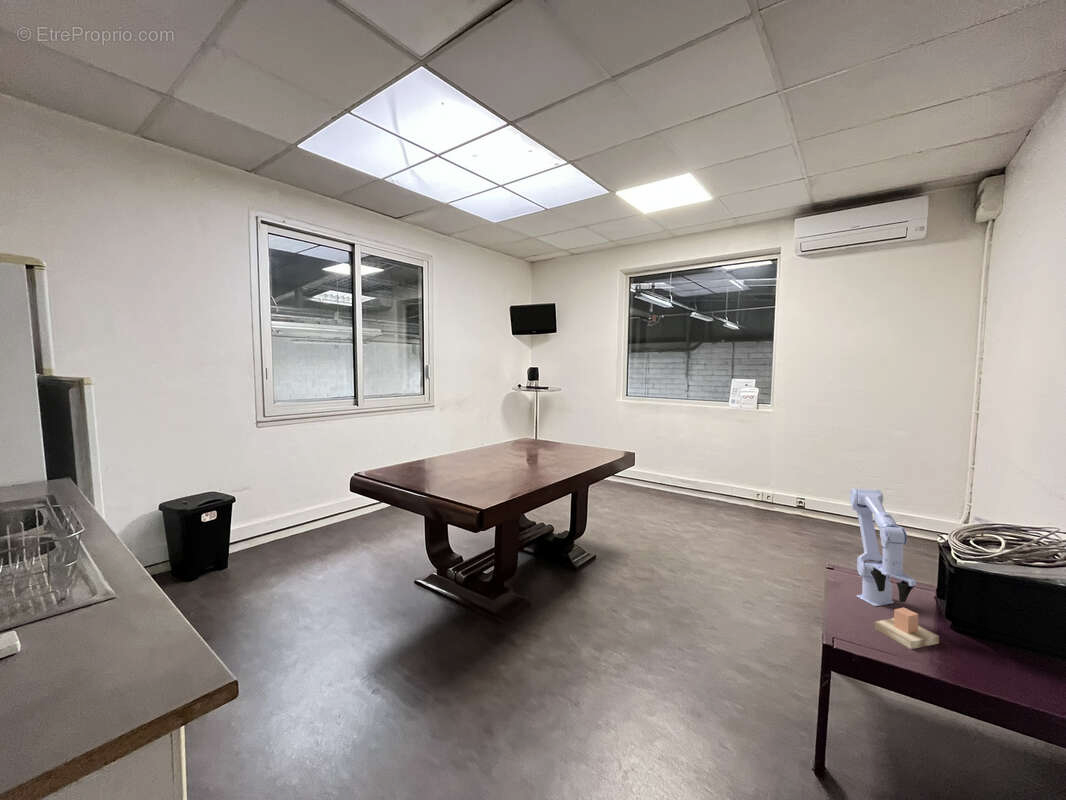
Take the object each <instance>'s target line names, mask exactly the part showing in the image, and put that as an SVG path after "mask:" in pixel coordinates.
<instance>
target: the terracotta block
mask: <svg viewBox="0 0 1066 800" xmlns="http://www.w3.org/2000/svg"><path fill="white" fill-rule="evenodd" d="M893 613H894V615H893V618H894V626H895V627H896V628H898V629H900V630H902V631H904V632H906V633H912V632H916V631H918V625H919V613H917V612H915V611H912V610H910V609H908V608H906V607H900V608H895V609H894V610H893Z"/></svg>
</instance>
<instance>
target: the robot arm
mask: <svg viewBox="0 0 1066 800" xmlns="http://www.w3.org/2000/svg"><path fill="white" fill-rule="evenodd" d="M849 492H850V493H849V498H850V499H849V500H850V504H851V505H850V506H851V508H852V510H853V511H855V512H856V513H857V517H858V522H859V523H858V524H859V529H860V535H861V540H862V541H861V542H862V546H863V553H862V554H860V555H859V556H857V558H856V561H857V563H856V569H857V573H858V575H859V576H860V577H862V580H861V581H862V582H861V583H862V584H861V586H862V588H861V589H862V590H861V594H856V597H857V598H859V599H860V600H863V601H864V602H866V603H868V604H870V605H871V606H874V607H879V606H884V605H889V604H894V603H895V601H894V600H893V585H892V583H891V580H890V579H891V578H894V579H895V580H898V581H899V582H896V585H897V589H898V601H899V602H900V603H905V602H907V599H908V596H909V594H910V593H911V592H912V590H913V589H914V588H915V587H916V586H917V580H916V579H914V578H912V577H911V576H909V575H908V574H906V573H904V572H903V571H904V570H903V569H904V566H903V565H904V545H906V544H907V542H908V534H907V532H906V529H905V528H904V527H902V526H901V525H898V524H897V522H896V521H895V519H894V516H892V514H891V513H889V512H887V511H886V510H885V508H884V505H883V503H884V495H883V492H882V491H881V490H880V489H865V488H854V487H853V488H851V490H850V491H849ZM873 515H874V516H873ZM875 525H876V526H877V528H878V529H879V537H880V545H881V546H882V554H881V553H880V550H879V544H878V539H877V534H876V533H877V532H876V529H875Z"/></svg>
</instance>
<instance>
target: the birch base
mask: <svg viewBox="0 0 1066 800" xmlns="http://www.w3.org/2000/svg"><path fill="white" fill-rule="evenodd" d="M874 629H875V630H876V631H878V632H880V633H882V634H883V635H885V636H887V637H888V638H891V639H892V640H894V641H895V642H897V643H899V644H901V645H903V646H904V647H906V648H908V649H909V650H914V649H919V648H924V647H929V646H932V645H938V644H940V636H939V635H938V634H936V633H934V632H932V631H930V630H928V629H927V628H924V627H923V626H921V625H919V624H918V631H916V632H912V633H906V632H904V631H902V630H900V629H898V628H896V627H895V626H894V617H893V618H887V619H882V620H877V621H874Z"/></svg>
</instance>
